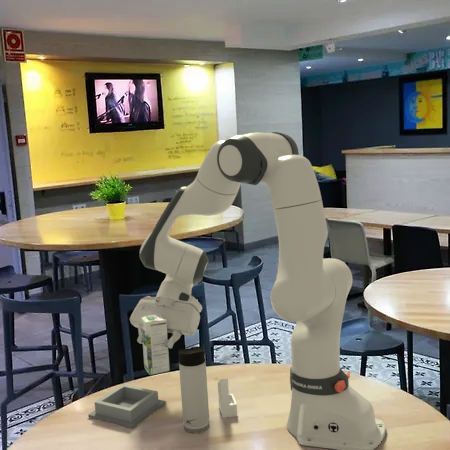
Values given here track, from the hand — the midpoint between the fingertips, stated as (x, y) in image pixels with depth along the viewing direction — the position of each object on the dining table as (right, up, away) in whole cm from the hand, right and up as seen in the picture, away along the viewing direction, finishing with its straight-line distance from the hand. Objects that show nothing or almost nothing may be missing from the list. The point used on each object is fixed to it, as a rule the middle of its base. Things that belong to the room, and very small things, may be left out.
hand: (153, 344), depth 157 cm
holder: (-6, -16, -5) cm, 18 cm away
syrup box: (+1, -7, +2) cm, 7 cm away
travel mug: (+12, -17, -16) cm, 26 cm away
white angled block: (+20, -15, -9) cm, 26 cm away
